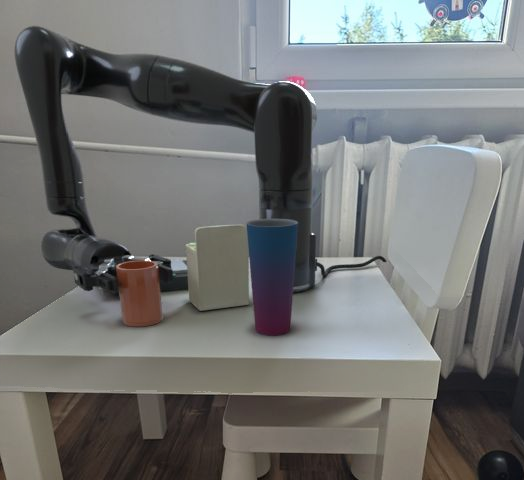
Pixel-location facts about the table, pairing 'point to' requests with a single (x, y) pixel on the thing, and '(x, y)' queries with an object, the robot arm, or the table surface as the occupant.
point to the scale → (176, 276)
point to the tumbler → (139, 293)
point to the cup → (272, 272)
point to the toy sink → (218, 267)
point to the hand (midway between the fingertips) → (143, 280)
